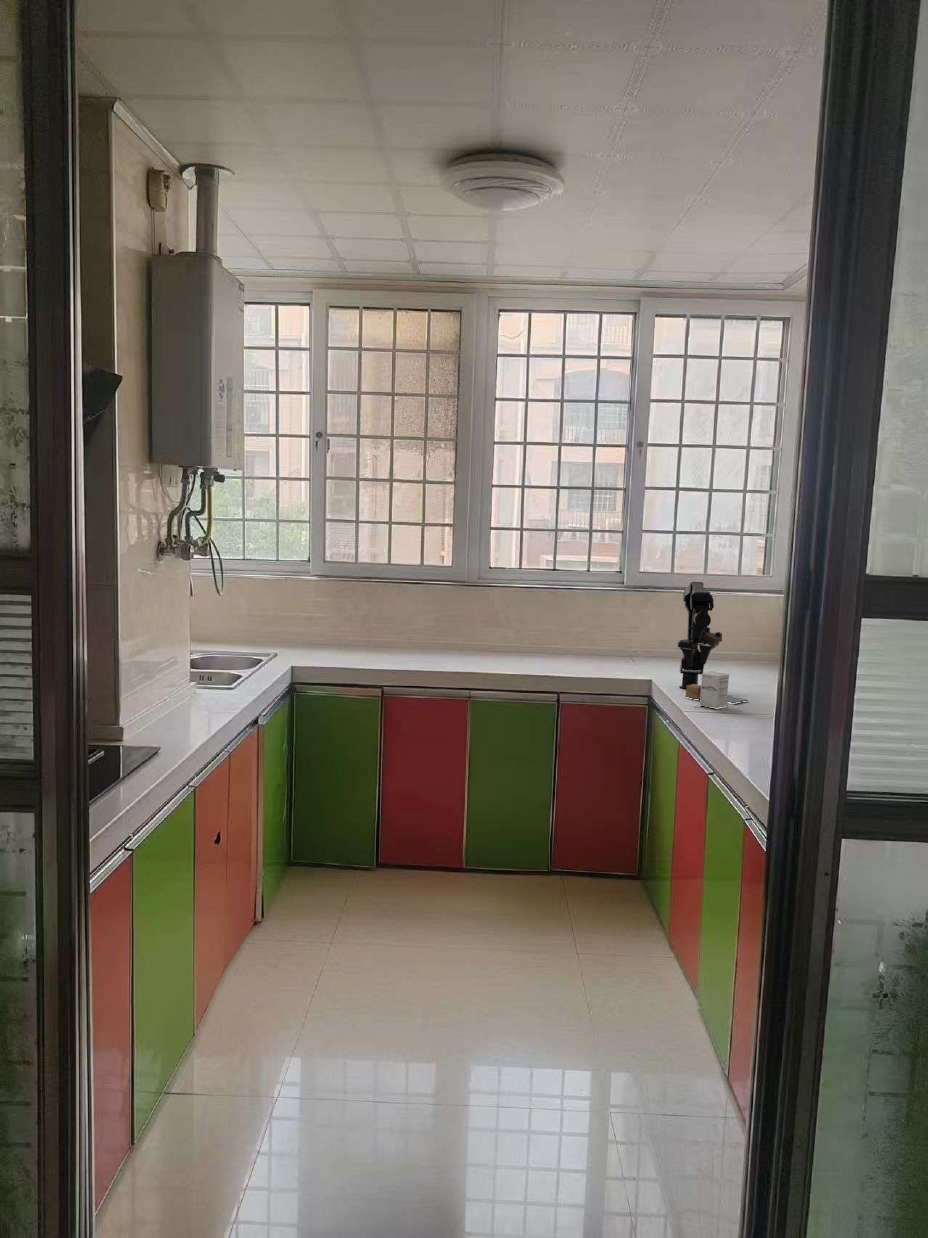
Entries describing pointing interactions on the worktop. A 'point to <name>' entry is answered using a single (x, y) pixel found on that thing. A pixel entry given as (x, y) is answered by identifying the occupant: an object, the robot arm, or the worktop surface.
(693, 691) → the walnut block
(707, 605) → the robot arm
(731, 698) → the slate mat
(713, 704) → the supplement box
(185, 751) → the worktop surface
